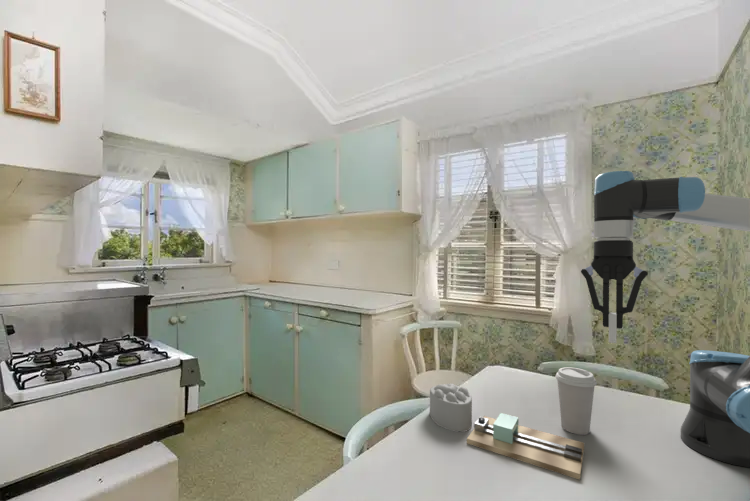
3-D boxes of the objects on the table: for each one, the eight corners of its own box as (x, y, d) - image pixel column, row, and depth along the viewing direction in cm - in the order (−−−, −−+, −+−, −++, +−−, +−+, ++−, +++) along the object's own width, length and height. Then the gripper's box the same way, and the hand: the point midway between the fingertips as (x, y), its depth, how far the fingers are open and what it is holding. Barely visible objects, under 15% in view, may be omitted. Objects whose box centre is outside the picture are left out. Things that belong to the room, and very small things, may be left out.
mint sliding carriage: (518, 431, 89) (518, 417, 89) (511, 444, 83) (511, 429, 83) (500, 426, 91) (500, 412, 91) (493, 438, 85) (493, 424, 85)
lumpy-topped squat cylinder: (458, 407, 105) (458, 378, 105) (481, 429, 92) (481, 396, 92) (425, 411, 102) (425, 381, 102) (444, 434, 90) (444, 400, 90)
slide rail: (581, 452, 80) (581, 441, 80) (580, 462, 76) (580, 451, 76) (479, 423, 93) (479, 414, 93) (474, 430, 89) (474, 421, 89)
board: (584, 447, 83) (584, 442, 83) (580, 479, 72) (580, 474, 72) (483, 420, 97) (483, 415, 97) (466, 443, 85) (466, 438, 85)
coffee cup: (603, 440, 87) (603, 380, 87) (561, 435, 89) (561, 377, 89) (587, 421, 96) (588, 367, 96) (550, 418, 98) (550, 365, 98)
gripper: (647, 239, 80) (646, 342, 80) (581, 240, 87) (580, 334, 87) (650, 238, 74) (649, 350, 74) (579, 239, 81) (578, 340, 81)
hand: (612, 341), depth 81 cm, fingers closed
